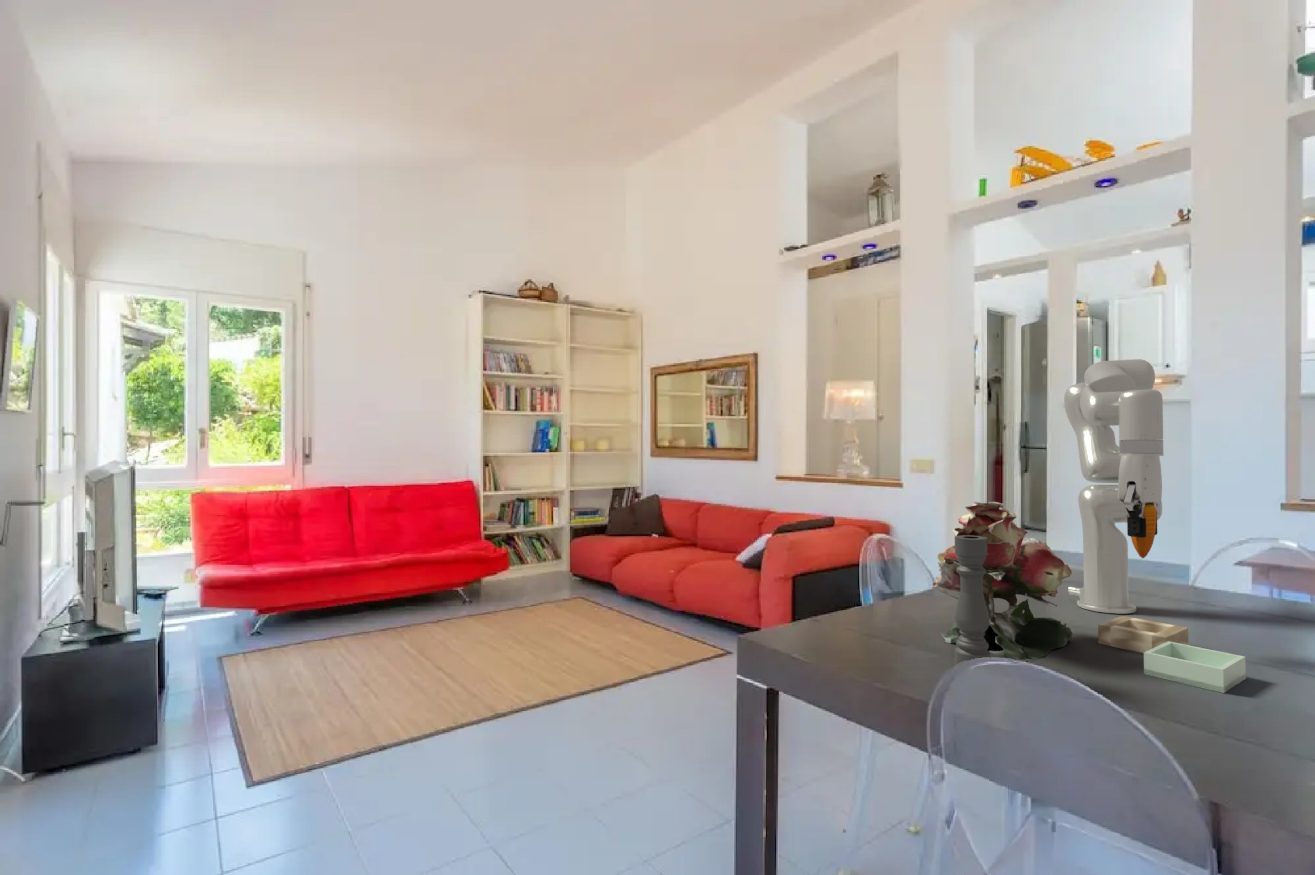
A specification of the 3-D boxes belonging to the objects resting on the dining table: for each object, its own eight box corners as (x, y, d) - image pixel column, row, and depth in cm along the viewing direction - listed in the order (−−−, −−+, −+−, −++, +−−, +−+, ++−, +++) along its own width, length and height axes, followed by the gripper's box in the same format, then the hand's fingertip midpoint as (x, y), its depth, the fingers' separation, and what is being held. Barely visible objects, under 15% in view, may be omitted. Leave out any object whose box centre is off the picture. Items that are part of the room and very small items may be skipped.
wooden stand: (1098, 643, 142) (1098, 624, 142) (1122, 633, 149) (1122, 615, 149) (1165, 658, 132) (1165, 637, 132) (1188, 647, 139) (1188, 627, 139)
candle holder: (948, 663, 130) (946, 535, 130) (979, 662, 131) (977, 534, 131) (966, 674, 124) (963, 540, 124) (997, 673, 125) (995, 539, 125)
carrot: (1154, 557, 141) (1153, 486, 141) (1160, 560, 137) (1159, 487, 137) (1126, 555, 143) (1124, 485, 143) (1131, 559, 139) (1130, 487, 139)
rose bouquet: (1083, 637, 146) (1081, 500, 147) (1028, 667, 128) (1026, 510, 128) (967, 615, 166) (965, 494, 166) (905, 638, 148) (903, 502, 148)
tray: (1144, 674, 123) (1143, 652, 123) (1168, 661, 130) (1168, 641, 130) (1223, 693, 114) (1223, 669, 114) (1245, 679, 120) (1245, 656, 120)
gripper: (1137, 448, 148) (1138, 530, 148) (1102, 449, 138) (1104, 537, 138) (1178, 448, 142) (1179, 534, 142) (1145, 449, 132) (1146, 541, 132)
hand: (1142, 534), depth 140 cm, fingers closed on carrot, 4 cm apart
